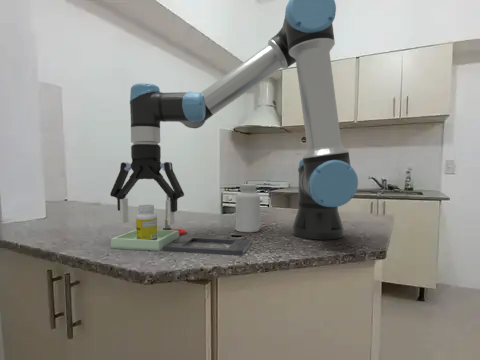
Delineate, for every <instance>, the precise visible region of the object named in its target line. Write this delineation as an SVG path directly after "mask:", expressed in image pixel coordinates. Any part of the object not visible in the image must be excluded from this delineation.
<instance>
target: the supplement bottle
mask: <svg viewBox="0 0 480 360" xmlns="http://www.w3.org/2000/svg"><path fill="white" fill-rule="evenodd" d="M154 211H155V205H154V204H141V205H138V212H139V213H137V214H136V217H135V225H136V226H135V229H136V234H137V239H144V240H157V230H158V216H157V214H156V213H155V212H154Z"/></svg>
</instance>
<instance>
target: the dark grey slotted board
mask: <svg viewBox="0 0 480 360" xmlns="http://www.w3.org/2000/svg"><path fill="white" fill-rule="evenodd" d="M193 242H194V243H209V242H213V244H230V245H229V247H227V248H226V247H225V248H224V247H223V248H222V247H203V246H189V245H191V244H192V243H193ZM190 243H191V244H190ZM187 245H188V246H187ZM250 245H252V239H246V238H243V239H242V238H225V237H224V238H223V237H207V236H206V237H205V236H204V237H201V236H184V235H180V236H179V238H178V239H176V240H174V241H173V242H171V243H169V244H167V245H166V246H164V247H163V249H162V250H163V252H175V251H187V252H186V253H193V252H202V253H201V254H210V253H215V254H214V255H230V256H231V255H232V256H243V255H245V253H246V251H247V250H248V249H249V247H250Z"/></svg>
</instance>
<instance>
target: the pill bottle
mask: <svg viewBox="0 0 480 360" xmlns="http://www.w3.org/2000/svg"><path fill="white" fill-rule="evenodd" d="M239 191H240V192H238V193H237V194H236V196H235V230H236V231H237V232H240V233H255V232H256V233H257V232H259V231H260V229H261V195H260V194H259V193H258V192H257V184H254V183H241V184H239Z"/></svg>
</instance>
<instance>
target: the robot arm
mask: <svg viewBox="0 0 480 360" xmlns="http://www.w3.org/2000/svg"><path fill="white" fill-rule="evenodd" d="M336 6H337V5H336V1H335V0H288V2H287V4H286V7H285V13H284V19H283V25H282V27H281V29H279V31H278V32H277V33H276V34H275V35H274V36H273V37H271V38H270V39H269V40H268V43H267V45H266V46H264V47H263V48H262V49H260V50H259V51H257V52H256V53H254V54H253V55H252V56H250V58H248V59H246V60H245V61H244V62H242V63H241V64H239V65H238V66H236V67H235V68H234V69H232V70H230V71H229V72H228V73H226V74H224V76H222V77H221V78H220V79H218V80H217V81H215V82H214V83H212V84H211V85H209V86H208V87H206V88H205V89H204V90H202V91H200V92H194V91H186V92H183V91H182V92H161V91H160V87H159V86H158V85H156V84H153V83H146V82H145V83H144V82H141V83H135V84H132V86H131V87H130V95H129V96H130V97H129V98H130V100H129V105H130V108H129V109H130V142H131V143H132V144H131V145H130V151H131V152H130V155H131V163H129V162H125V161H123V162H121V163H120V167H119V173H118V175H117V176H116V179H115V181H114V184H113V186H112V189H111V192H110V195H109V196H111V197H113V198H115V199H116V200H117V201H116V202H117V211H119V217H120V221H119V223H120V224H126V223H129V198H128V197H127V196H128V194H129V192H130V191H131V190H132V188H133V187H134V186H135V185H136V183H137V182H138V181H139V180H154V181H155V182H156V183H157V184H158V185H159V187H160V188H161V189H162V190H163V192H164V193H165V194H166V196H167V195H168V197H169V200H167V219H168V225H170V226H171V225H174V224H175V213H176V212H177V211H178V200H179V199H180V198H182V197H184V196H185V192H184V191H183V188H182V186H181V184H180V183H179V180H178V178H177V176H176V173H175V171H174V170H173V169H174V168H173V162H171V161H170V162H169V161H165V162H161V158H162V157H161V155H162V153H161V150H162V149H161V146H160V145H159V144H160V143H161V122H162V123H163V122H165V123H166V122H170V123H171V122H174V123H175V122H178V123H181V124H182V125H184V127H186V128H189V129H198V128H201V127H203V125H204V124H205V122H206V121H207V120H208V119H210V118H211V117H213V116H214V115H215V114H217V113H218V112H220V111H221V110H223V109H224V108H225V107H227V106H228V105H230V104H231V103H233V102H234V101H235V100H237V99H238V98H240V97H241V96H243V95H244V94H245V93H247V92H249V91H250V90H251V89H253V88H254V87H256V86H257V85H258V84H260V83H261V82H263V81H264V80H266V79H267V78H269V77H271V75H273V74H274V73H276V72H277V71H279V70H280V69H285V70H286V69H288V68H289V67H291V66H292V65H293V64H295V65H296V73H297V79H298V80H297V81H298V87H299V88H298V89H299V95H300V101H301V110H302V116H303V117H302V118H303V124H304V132H305V140H306V150H307V151H306V152H305V154H304V155H303V156H302V158H301V159H300V161H299V162H298V168H297V172H298V208H297V212H296V216H295V217H294V218H295V219H294V221H293V224H292V235H294V236H296V237H298V238H303V239H309V240H310V239H311V240H321V241H322V240H325V241H326V240H337V239H342V238H343V237H344V227H343V223H342V220H341V217H340V213H339V207H342V206H343V205H346V204H347V203H348V202H350V201H351V200H352V199H353V198H354V196H355V195H356V193H357V191H358V186H359V179H358V174H357V172H356V170H355V169H354V168H353V166H352V165H351V160H350V152H349V150H348V149H347V148H345V147H344V146H343V144H342V138H341V131H340V124H339V123H340V122H339V113H338V109H337V108H338V107H337V100H336V93H335V85H334V76H333V68H332V62H331V61H332V60H331V50H332V49H333V47H334V46H335V45H336V44H335V42H336V41H335V34H334V27H333V22H334V20H335V18H336V13H337V7H336ZM131 170H132V173H131V175H130V176H129V172H130V171H131ZM161 170H163V171H164V172H165V175H166V177H167V179H168V182H169V183H170V184H169V183H168V182H167V180H166V179H165V178H164V175H162V173H161V172H160V171H161ZM128 176H129V178H128V180H127V177H128ZM126 180H127V181H126ZM125 182H126V183H125Z"/></svg>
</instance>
